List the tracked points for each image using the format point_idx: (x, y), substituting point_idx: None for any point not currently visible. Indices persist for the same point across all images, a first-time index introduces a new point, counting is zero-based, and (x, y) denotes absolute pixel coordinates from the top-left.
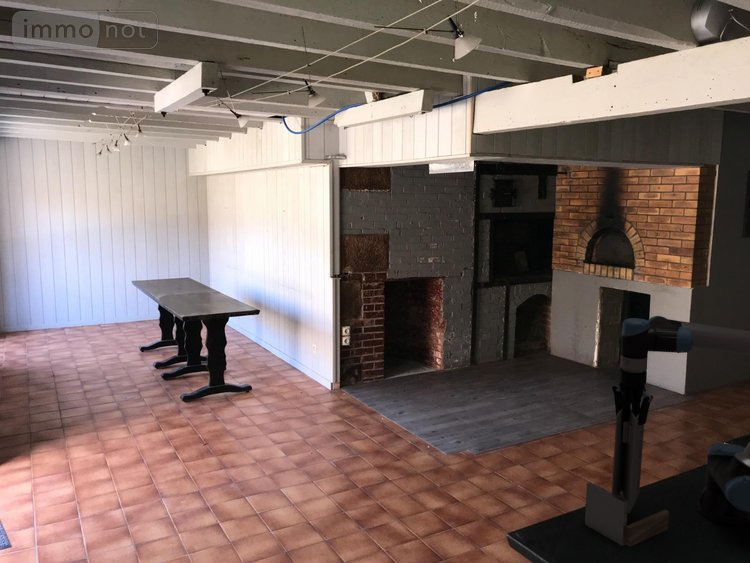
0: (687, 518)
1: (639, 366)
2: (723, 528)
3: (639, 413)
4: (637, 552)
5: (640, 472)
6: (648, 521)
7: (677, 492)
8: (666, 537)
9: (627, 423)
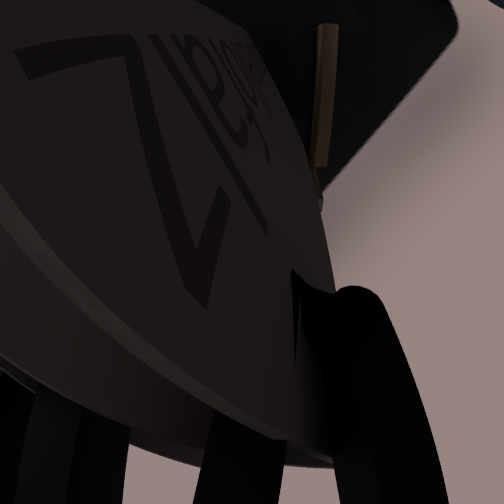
0: None
1: None
2: None
3: (338, 473)
4: (339, 154)
5: (240, 30)
6: (333, 105)
7: None
8: (346, 59)
9: None
